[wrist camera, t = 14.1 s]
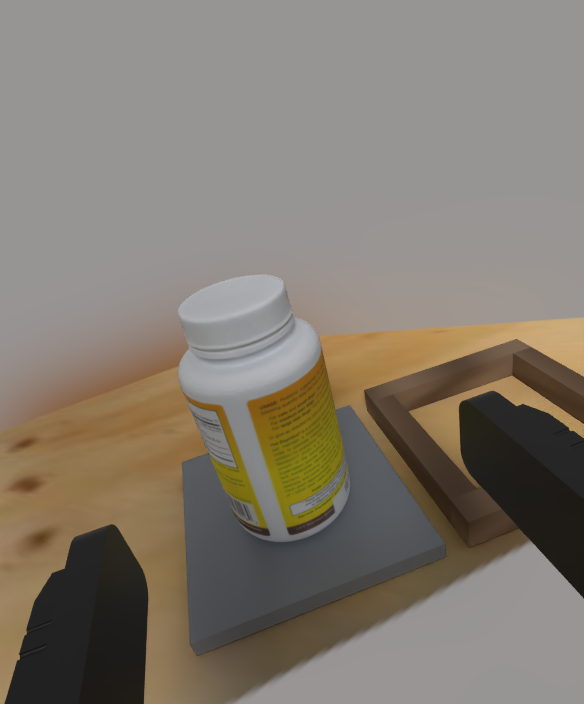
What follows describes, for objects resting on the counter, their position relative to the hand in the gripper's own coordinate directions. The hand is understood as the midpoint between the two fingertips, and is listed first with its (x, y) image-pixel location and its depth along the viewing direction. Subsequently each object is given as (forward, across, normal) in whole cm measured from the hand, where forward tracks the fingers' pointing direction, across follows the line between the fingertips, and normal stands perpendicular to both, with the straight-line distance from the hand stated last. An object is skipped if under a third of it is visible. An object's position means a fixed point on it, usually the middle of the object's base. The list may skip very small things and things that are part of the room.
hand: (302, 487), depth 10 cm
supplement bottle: (+8, 0, +8) cm, 11 cm away
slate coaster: (+8, 0, +9) cm, 12 cm away
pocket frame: (+8, -11, +9) cm, 16 cm away
